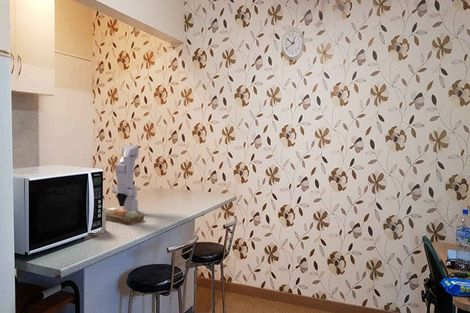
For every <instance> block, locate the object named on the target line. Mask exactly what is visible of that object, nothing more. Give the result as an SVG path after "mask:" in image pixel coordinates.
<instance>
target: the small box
mask: <svg viewBox="0 0 470 313" xmlns="http://www.w3.org/2000/svg"><path fill="white" fill-rule="evenodd" d="M102 207H103V212H102V228H101V230H100V231H98V232H96V233H95V234H104V233H105V231H106V230H107V225H106V224H107V220H106V209H107V208H106V206H102Z"/></svg>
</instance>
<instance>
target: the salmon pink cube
mask: <svg viewBox="0 0 470 313" xmlns="http://www.w3.org/2000/svg"><path fill="white" fill-rule="evenodd" d="M126 212H128V210H123V208H121V209H119V210H117V211H116V215H117V216H125V213H126Z"/></svg>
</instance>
